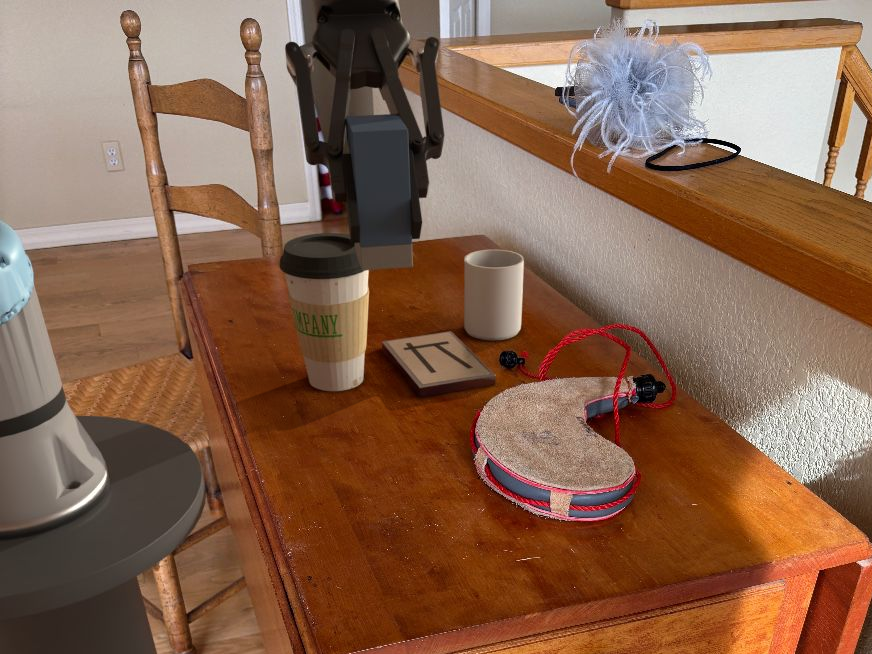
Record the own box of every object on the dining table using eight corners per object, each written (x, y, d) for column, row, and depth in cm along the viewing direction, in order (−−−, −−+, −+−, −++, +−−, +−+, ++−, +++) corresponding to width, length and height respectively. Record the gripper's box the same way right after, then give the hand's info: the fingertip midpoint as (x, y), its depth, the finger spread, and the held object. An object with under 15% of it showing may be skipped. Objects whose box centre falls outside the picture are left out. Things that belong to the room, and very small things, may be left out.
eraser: (361, 271, 81) (352, 132, 74) (354, 248, 86) (345, 116, 79) (413, 267, 81) (408, 129, 75) (402, 245, 86) (397, 113, 80)
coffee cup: (284, 369, 108) (268, 237, 99) (365, 357, 111) (356, 227, 102) (304, 404, 101) (288, 264, 92) (390, 389, 104) (383, 253, 95)
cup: (476, 344, 114) (477, 271, 108) (448, 317, 121) (447, 247, 116) (530, 336, 116) (533, 263, 110) (498, 309, 123) (500, 240, 118)
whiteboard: (420, 397, 102) (419, 386, 101) (382, 350, 113) (381, 340, 112) (495, 384, 105) (495, 373, 104) (451, 340, 115) (451, 329, 114)
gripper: (447, 12, 86) (481, 248, 83) (256, 19, 84) (284, 261, 81) (456, -54, 79) (494, 202, 76) (247, -49, 77) (278, 215, 74)
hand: (386, 232), depth 79 cm, fingers closed on eraser, 4 cm apart
